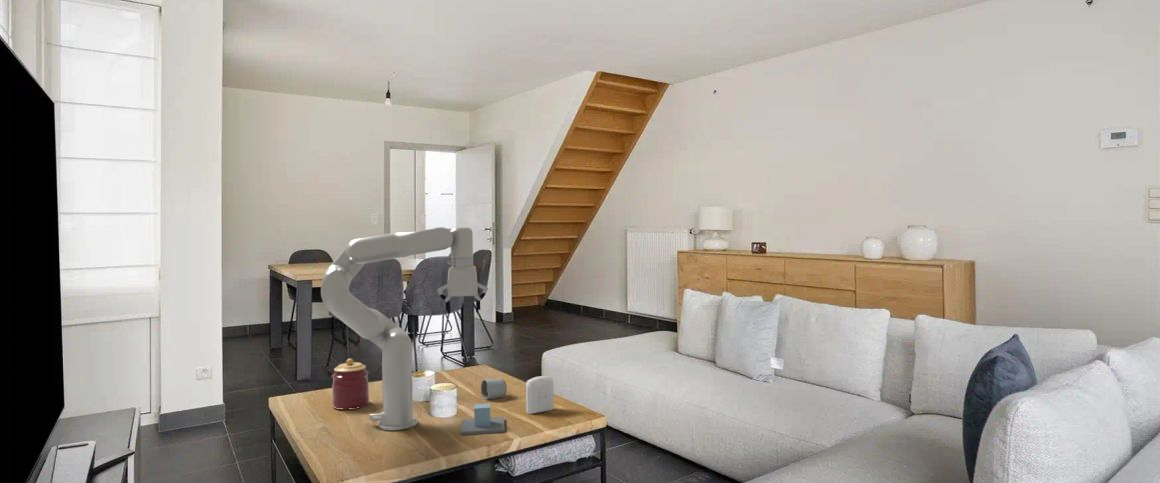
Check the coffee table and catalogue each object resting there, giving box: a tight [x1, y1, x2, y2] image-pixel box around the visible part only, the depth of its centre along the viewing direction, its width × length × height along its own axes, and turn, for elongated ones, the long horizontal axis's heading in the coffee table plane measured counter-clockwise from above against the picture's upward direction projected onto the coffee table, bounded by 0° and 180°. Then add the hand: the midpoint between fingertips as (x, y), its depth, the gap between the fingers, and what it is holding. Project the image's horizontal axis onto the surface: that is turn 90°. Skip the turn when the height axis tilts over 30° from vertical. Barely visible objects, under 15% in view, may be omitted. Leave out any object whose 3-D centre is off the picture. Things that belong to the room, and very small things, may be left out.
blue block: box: [473, 403, 491, 427], centre depth 205 cm, size 5×5×6 cm
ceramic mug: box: [480, 377, 508, 401], centre depth 242 cm, size 11×8×8 cm
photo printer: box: [525, 375, 554, 415], centre depth 222 cm, size 10×4×12 cm, turn 123°
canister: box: [331, 358, 370, 409], centre depth 234 cm, size 13×13×18 cm
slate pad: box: [459, 416, 506, 436], centre depth 206 cm, size 14×13×1 cm
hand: (463, 312), depth 217 cm, fingers open, 9 cm apart
